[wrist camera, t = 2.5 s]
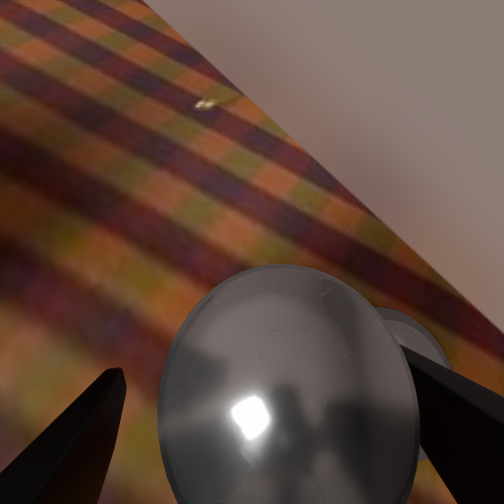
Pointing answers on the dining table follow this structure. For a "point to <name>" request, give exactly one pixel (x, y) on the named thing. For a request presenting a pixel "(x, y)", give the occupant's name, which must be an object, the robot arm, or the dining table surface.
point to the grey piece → (287, 396)
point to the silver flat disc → (414, 341)
